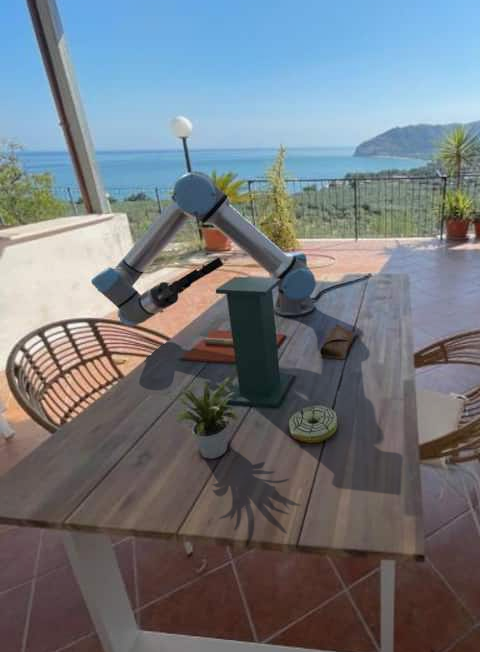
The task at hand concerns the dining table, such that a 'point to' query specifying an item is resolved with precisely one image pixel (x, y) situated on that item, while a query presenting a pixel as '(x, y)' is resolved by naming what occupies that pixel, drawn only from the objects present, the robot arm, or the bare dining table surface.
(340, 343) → the sunglasses case
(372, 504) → the dining table surface
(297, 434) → the decorated donut
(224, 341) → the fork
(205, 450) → the house plant
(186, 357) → the mat
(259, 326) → the stand
